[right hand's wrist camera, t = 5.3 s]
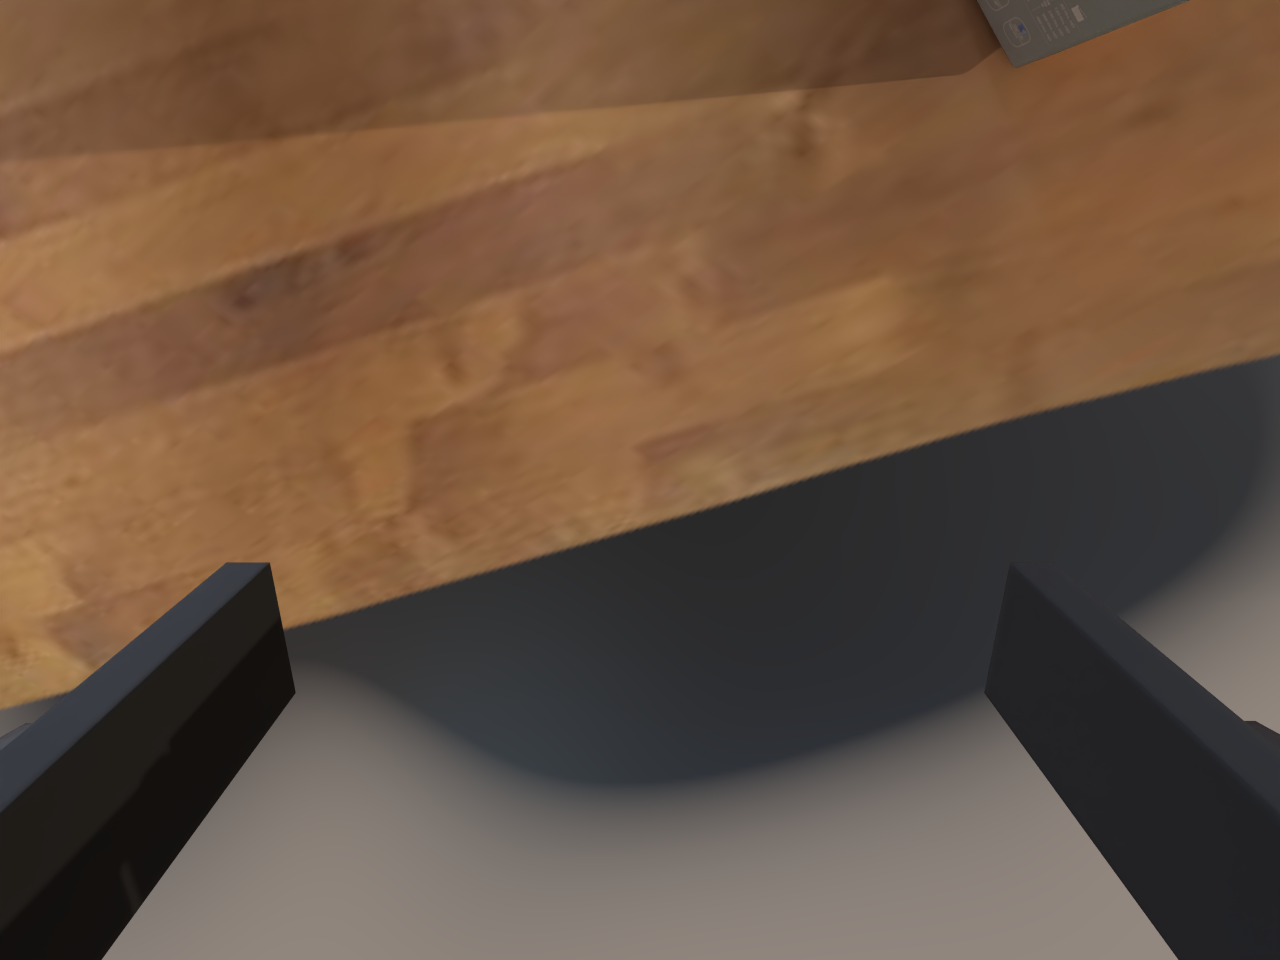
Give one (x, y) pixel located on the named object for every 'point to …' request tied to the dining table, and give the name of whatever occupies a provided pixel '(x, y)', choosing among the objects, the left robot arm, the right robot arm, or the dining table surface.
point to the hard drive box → (1060, 23)
